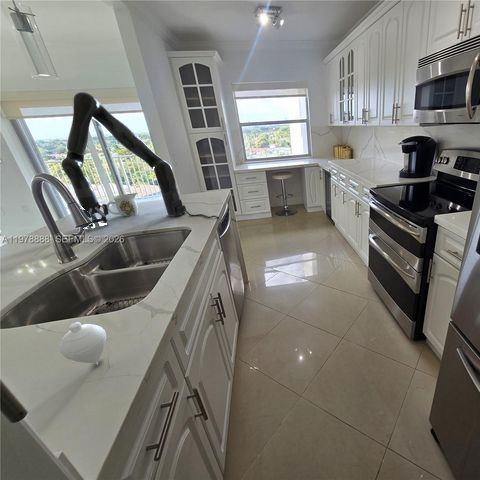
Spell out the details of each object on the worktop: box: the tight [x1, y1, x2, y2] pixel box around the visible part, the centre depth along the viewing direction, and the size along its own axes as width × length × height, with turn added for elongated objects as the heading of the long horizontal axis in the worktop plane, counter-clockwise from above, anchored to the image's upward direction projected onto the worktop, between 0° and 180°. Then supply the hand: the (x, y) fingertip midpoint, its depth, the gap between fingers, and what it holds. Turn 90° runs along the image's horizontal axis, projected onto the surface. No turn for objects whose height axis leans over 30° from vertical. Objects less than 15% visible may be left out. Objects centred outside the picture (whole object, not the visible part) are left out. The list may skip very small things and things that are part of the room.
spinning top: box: [59, 321, 107, 366], centre depth 57 cm, size 8×8×12 cm
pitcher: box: [106, 192, 139, 217], centre depth 164 cm, size 11×18×14 cm, turn 126°
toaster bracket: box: [85, 213, 107, 231], centre depth 148 cm, size 12×9×12 cm
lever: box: [90, 215, 103, 223], centre depth 145 cm, size 12×5×2 cm, turn 62°
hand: (98, 224), depth 145 cm, fingers open, 6 cm apart
